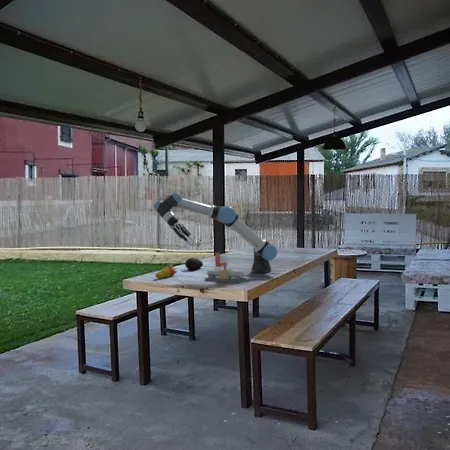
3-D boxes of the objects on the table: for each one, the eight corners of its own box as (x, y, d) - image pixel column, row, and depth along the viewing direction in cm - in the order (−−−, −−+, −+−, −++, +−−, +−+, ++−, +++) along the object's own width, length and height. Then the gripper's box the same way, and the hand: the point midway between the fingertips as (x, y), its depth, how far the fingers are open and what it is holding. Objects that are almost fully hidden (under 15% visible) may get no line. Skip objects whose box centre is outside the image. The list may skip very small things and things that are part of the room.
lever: (224, 264, 338) (223, 250, 338) (228, 264, 337) (228, 250, 336) (214, 267, 324) (214, 252, 324) (219, 267, 323) (218, 253, 322)
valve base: (212, 278, 347) (211, 263, 347) (246, 280, 337) (245, 264, 336) (204, 280, 336) (204, 265, 336) (239, 282, 326) (239, 267, 325)
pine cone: (204, 268, 396) (204, 256, 395) (194, 271, 380) (194, 258, 379) (193, 267, 400) (193, 255, 400) (183, 270, 384) (182, 258, 383)
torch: (156, 285, 343) (172, 275, 366) (164, 280, 340) (180, 270, 363) (150, 274, 343) (167, 265, 366) (158, 270, 340) (175, 261, 363)
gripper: (174, 222, 346) (195, 245, 340) (160, 223, 329) (182, 248, 323) (180, 214, 344) (202, 238, 338) (167, 215, 327) (189, 240, 321)
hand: (192, 243), depth 331 cm, fingers open, 6 cm apart
